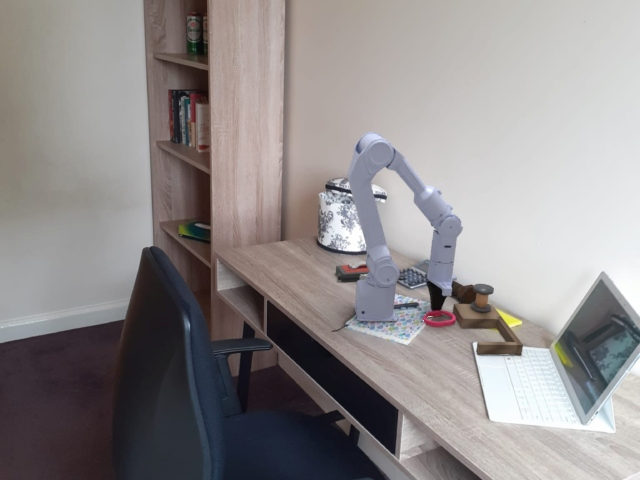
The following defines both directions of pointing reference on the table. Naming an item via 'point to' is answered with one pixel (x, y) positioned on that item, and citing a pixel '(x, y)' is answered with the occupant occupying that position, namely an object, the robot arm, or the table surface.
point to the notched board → (488, 320)
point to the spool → (482, 298)
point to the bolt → (464, 292)
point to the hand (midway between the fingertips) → (435, 310)
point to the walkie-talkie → (354, 272)
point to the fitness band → (441, 323)
